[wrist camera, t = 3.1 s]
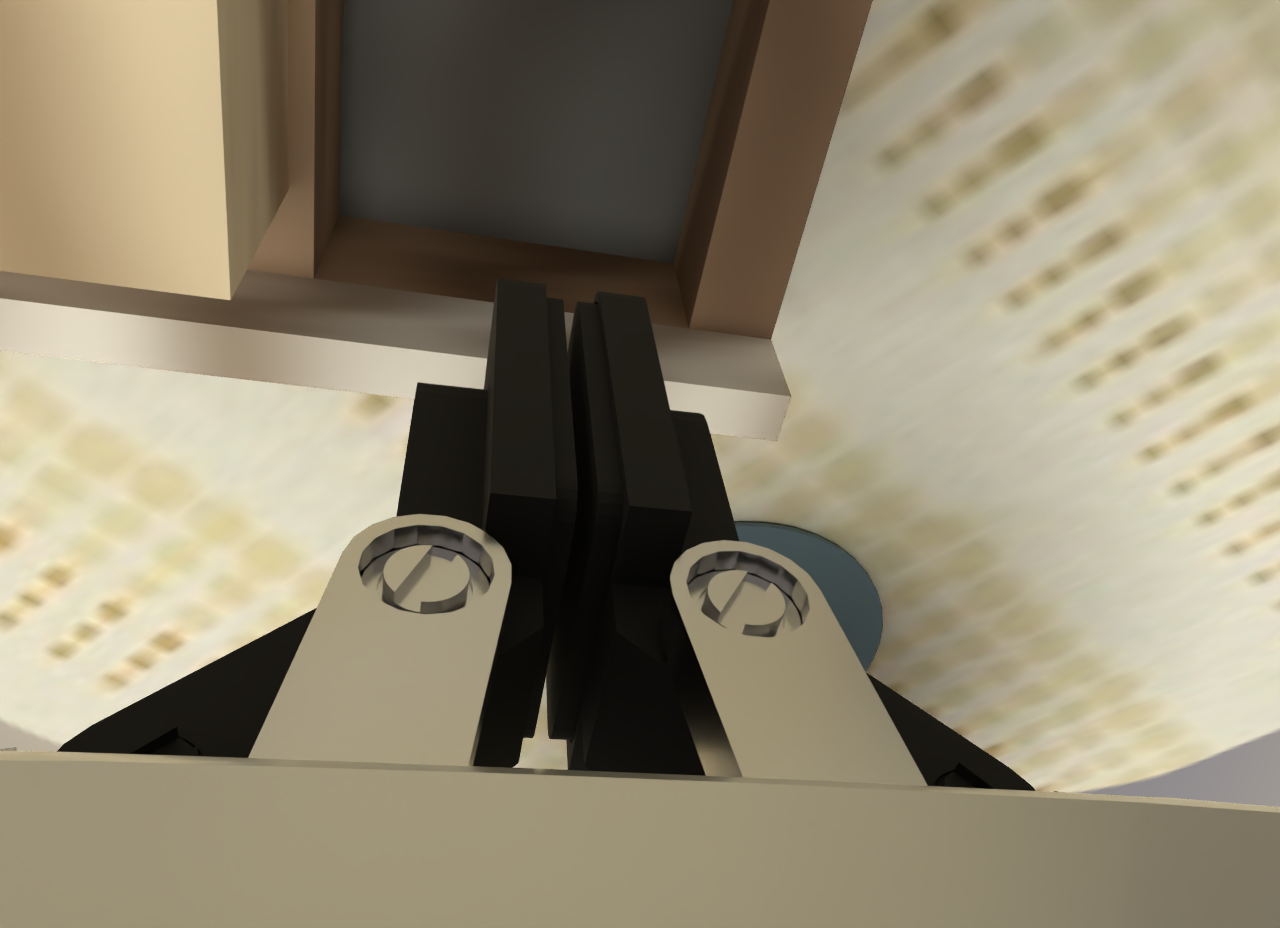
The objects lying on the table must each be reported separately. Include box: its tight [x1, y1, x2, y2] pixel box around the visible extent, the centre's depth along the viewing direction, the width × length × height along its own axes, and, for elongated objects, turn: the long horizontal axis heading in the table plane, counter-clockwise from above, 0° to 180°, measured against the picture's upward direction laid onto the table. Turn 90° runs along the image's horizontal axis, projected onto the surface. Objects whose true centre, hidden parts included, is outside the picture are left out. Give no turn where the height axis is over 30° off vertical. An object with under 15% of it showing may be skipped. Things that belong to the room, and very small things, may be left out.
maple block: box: [0, 0, 289, 300], centre depth 17 cm, size 6×6×5 cm
